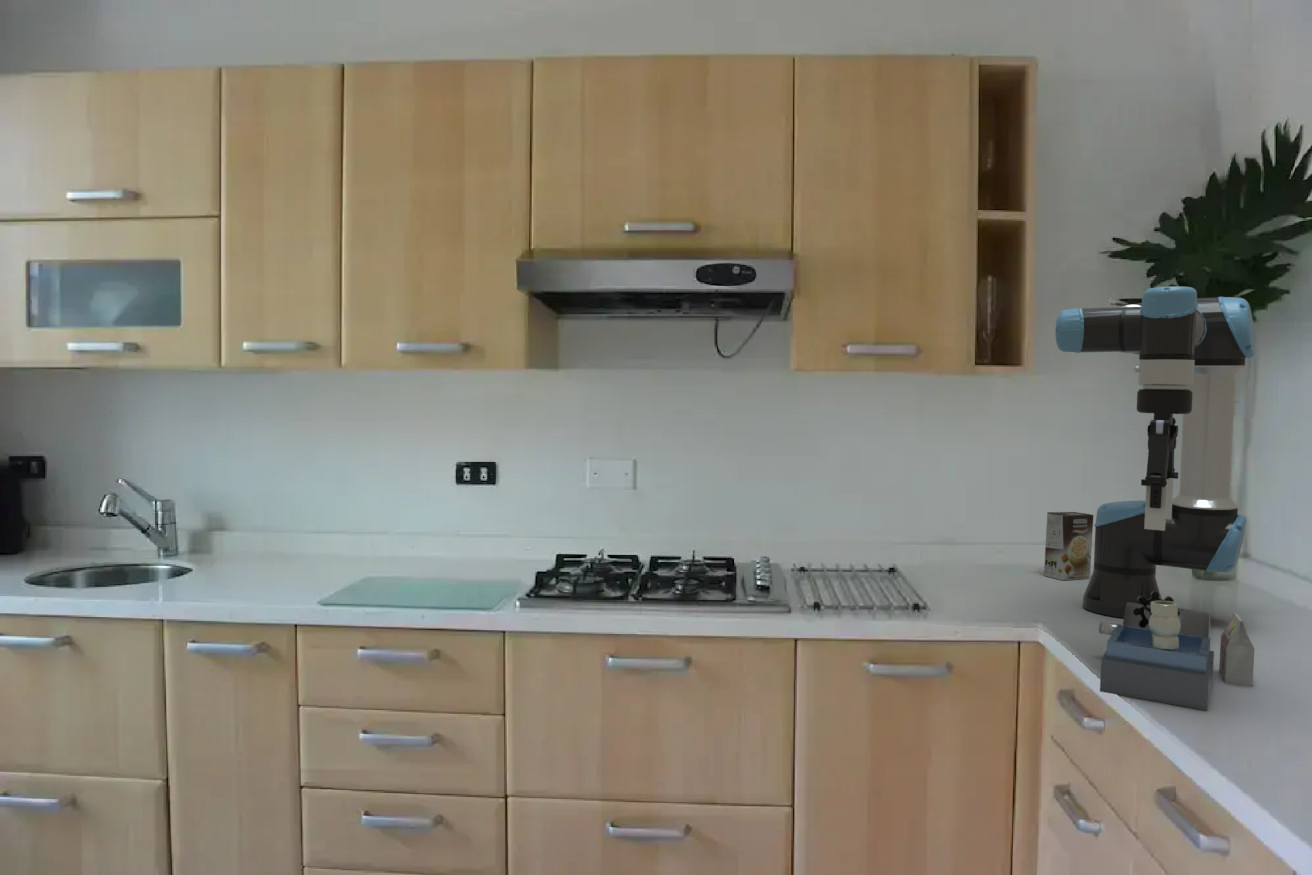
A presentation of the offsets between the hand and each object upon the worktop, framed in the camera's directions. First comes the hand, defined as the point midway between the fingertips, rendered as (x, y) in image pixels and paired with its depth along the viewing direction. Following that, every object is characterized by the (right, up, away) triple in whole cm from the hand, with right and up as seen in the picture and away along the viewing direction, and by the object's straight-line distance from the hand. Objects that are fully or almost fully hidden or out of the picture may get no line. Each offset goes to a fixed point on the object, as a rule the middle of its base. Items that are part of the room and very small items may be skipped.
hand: (1158, 524), depth 144 cm
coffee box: (+24, -22, +85) cm, 91 cm away
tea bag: (+15, -25, +4) cm, 30 cm away
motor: (+1, -25, +4) cm, 25 cm away
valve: (-1, -18, -3) cm, 18 cm away
